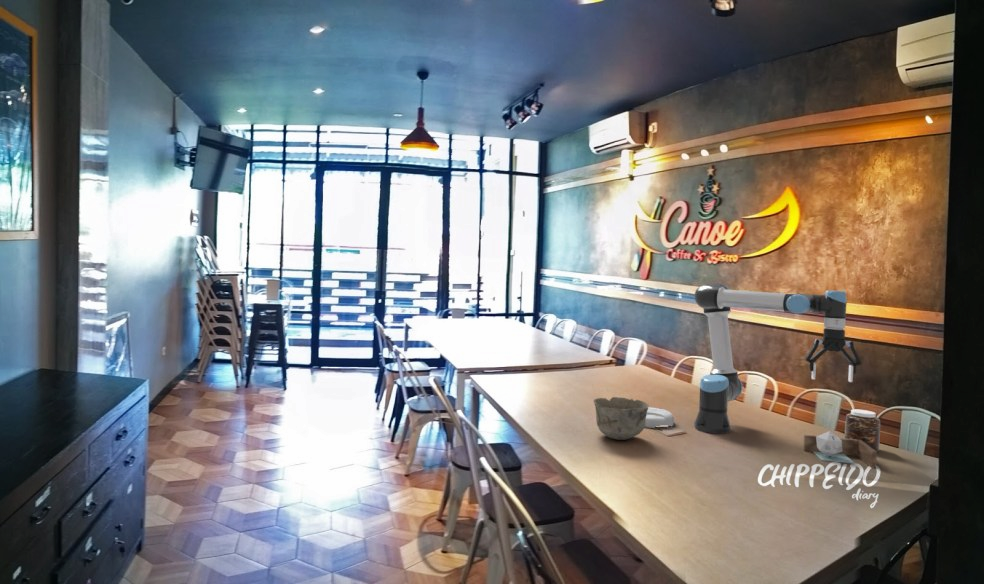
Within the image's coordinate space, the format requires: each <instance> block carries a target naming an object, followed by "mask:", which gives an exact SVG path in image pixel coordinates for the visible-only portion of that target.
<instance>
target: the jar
mask: <svg viewBox="0 0 984 584" xmlns="http://www.w3.org/2000/svg"><path fill="white" fill-rule="evenodd" d="M844 424H845V425H844V438H845V439H856V440H862V441H863V442H864V443H866V444H867V445H868V446H870V447H871V448H872V449H874V450H875V451H877V453H879V451H880V441H881V440H880V438H881V437H880V436H881V420H880V418H878V417H876V412H874V411H871V410H866V409H858V408H857V409H856V408H855V409H854V408H853V409H851V410H850V413H848V414H846V415H845V423H844Z"/></svg>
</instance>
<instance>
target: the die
mask: <svg viewBox="0 0 984 584" xmlns="http://www.w3.org/2000/svg"><path fill="white" fill-rule="evenodd" d="M815 436H816V440H817V447H818V449H819V450H820V451H821V452H822V453H824V454H825V455H826V456H828V457H830V456H832V455H835V454H837V453H840V452H842V441H841V439H840V438H841V437H839V436H838V435H836V434H835V433H833V432H832V431H830V430H829V431H826V432H824V433H820V434H819V435H815Z"/></svg>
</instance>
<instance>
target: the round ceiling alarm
mask: <svg viewBox="0 0 984 584" xmlns="http://www.w3.org/2000/svg"><path fill="white" fill-rule="evenodd" d="M674 421H675V419H674V415H673V413H672V412H670V411H668V410H666V409H663V408H658V407H650V406H649V407H648V410H647V414H646V420H645V427H644V428H648V429H649V428H650V429H651V428H652V429H656V428H655V427H656V426H660V425H668V426H671V427H673V426H674V424H675V423H674Z"/></svg>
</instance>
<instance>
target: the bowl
mask: <svg viewBox="0 0 984 584" xmlns="http://www.w3.org/2000/svg"><path fill="white" fill-rule="evenodd" d="M593 403H594V406H595V407H594V408H595V413H596V414H595V421H596V425H597V428H598V430H599V431H600V432H601V433H602V434H603V435H605V436H606V437H608V438H610V439H612V440H616V441H626V440H629V439H632V438H634V437H636V436H638V435H640V434H641V433H642V432H643V431H644V429H645V428H646V427H645V420H646V414H647V410H648V407H650V406H649V404H648V403H647V402H646V401H643V400H639V399H635V400H634V399H632V398H630V399H629V398H626V397H620V396H619V397H618V396H617V397H616V396H613V397H611V398H609V399H607V398H606V397H599V398H598V397H597V398H595V399H593Z"/></svg>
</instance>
